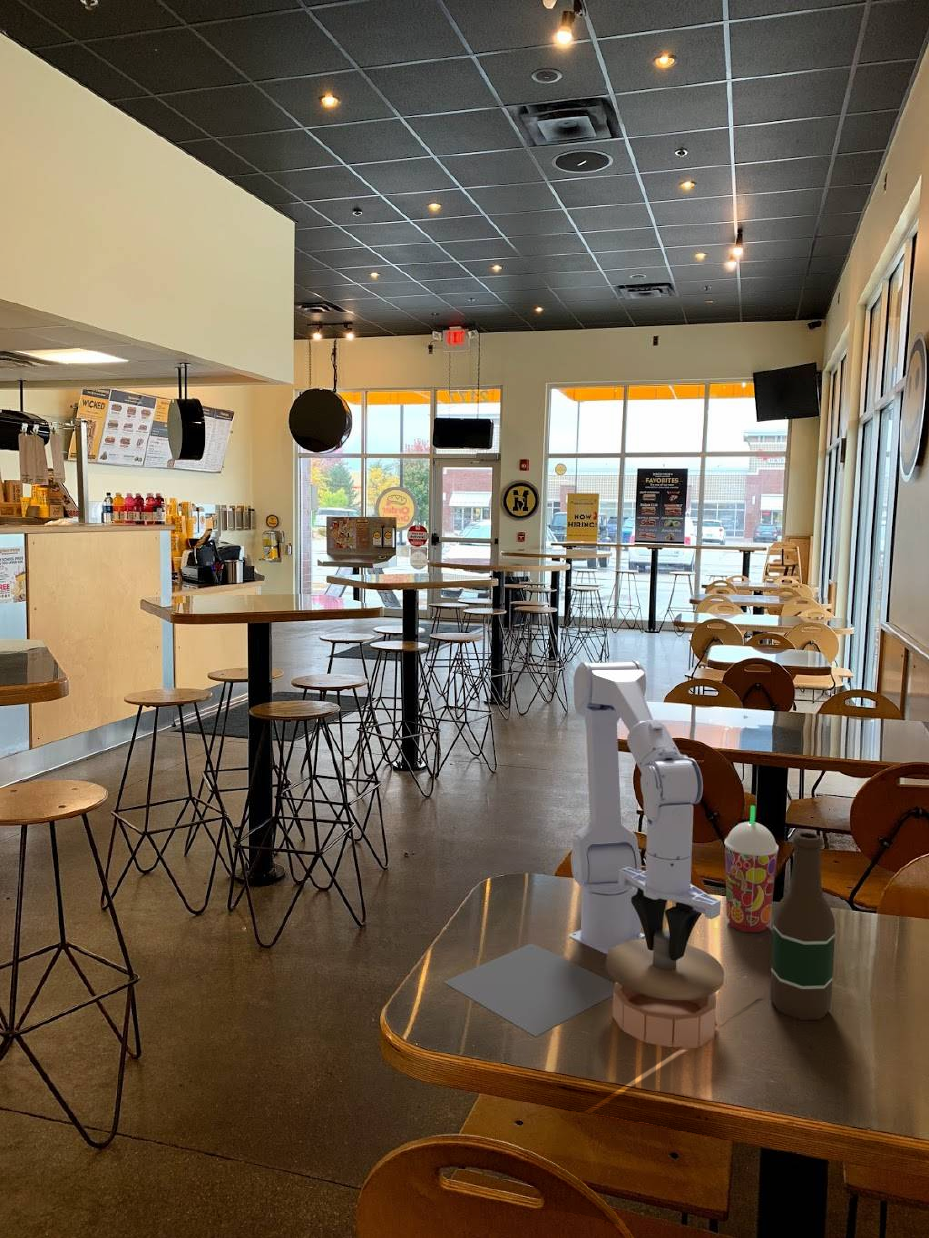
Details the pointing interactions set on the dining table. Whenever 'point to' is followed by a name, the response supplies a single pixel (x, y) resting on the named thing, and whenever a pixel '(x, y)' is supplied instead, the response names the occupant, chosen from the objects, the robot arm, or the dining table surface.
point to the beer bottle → (803, 938)
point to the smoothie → (750, 875)
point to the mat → (533, 988)
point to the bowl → (665, 1018)
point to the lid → (664, 969)
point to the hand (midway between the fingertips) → (665, 952)
